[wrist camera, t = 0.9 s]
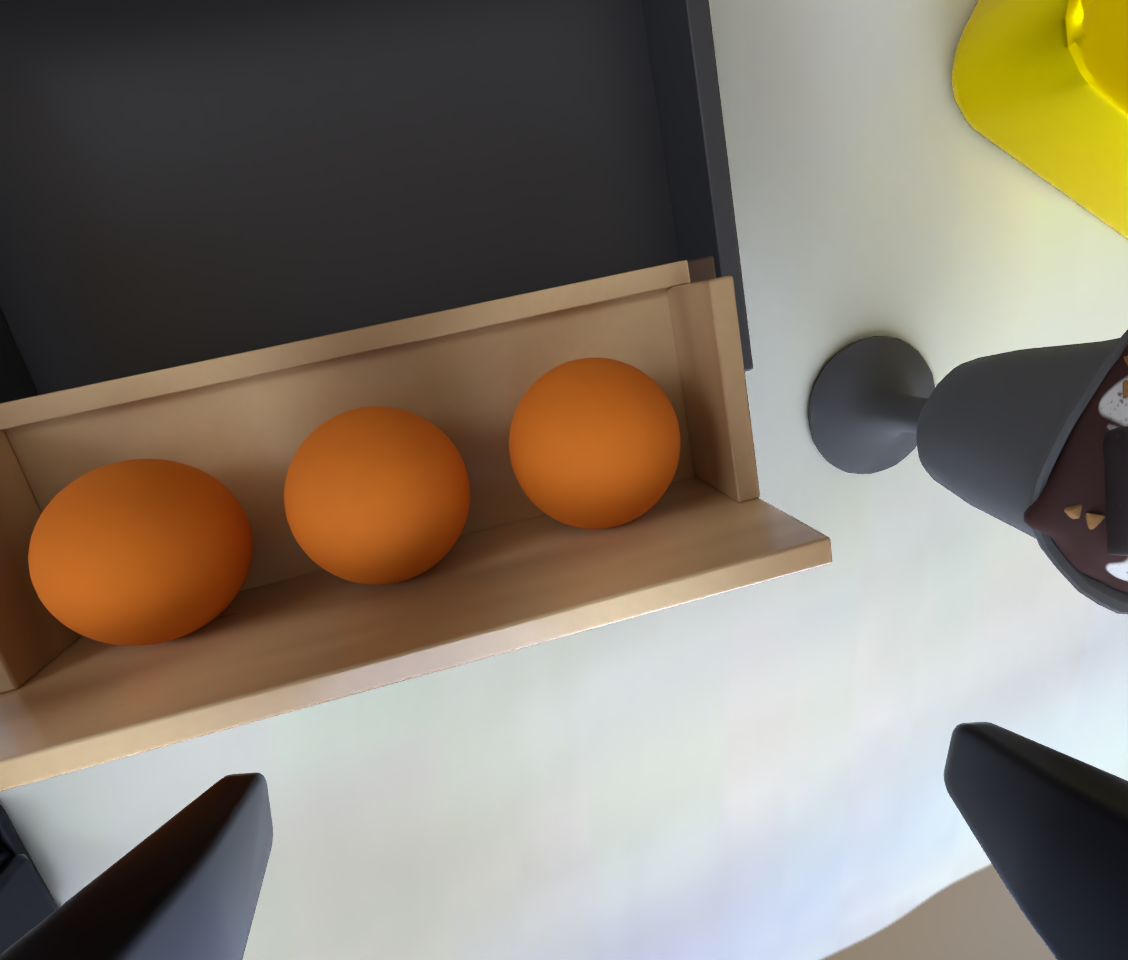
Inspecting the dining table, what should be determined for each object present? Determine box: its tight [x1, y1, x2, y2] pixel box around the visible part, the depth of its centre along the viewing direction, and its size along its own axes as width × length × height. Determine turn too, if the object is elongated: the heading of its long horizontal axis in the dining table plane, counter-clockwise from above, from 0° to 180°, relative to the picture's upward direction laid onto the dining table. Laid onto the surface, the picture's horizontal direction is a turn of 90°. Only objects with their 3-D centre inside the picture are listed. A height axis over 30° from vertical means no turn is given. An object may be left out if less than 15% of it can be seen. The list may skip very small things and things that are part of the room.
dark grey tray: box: [0, 0, 753, 403], centre depth 16 cm, size 20×13×4 cm, turn 102°
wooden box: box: [0, 260, 832, 791], centre depth 12 cm, size 15×6×6 cm, turn 102°
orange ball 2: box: [284, 406, 470, 585], centre depth 12 cm, size 4×4×4 cm
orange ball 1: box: [28, 459, 253, 646], centre depth 12 cm, size 4×4×4 cm
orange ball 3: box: [509, 358, 681, 529], centre depth 13 cm, size 4×4×4 cm
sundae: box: [808, 330, 1128, 614], centre depth 15 cm, size 7×7×15 cm
